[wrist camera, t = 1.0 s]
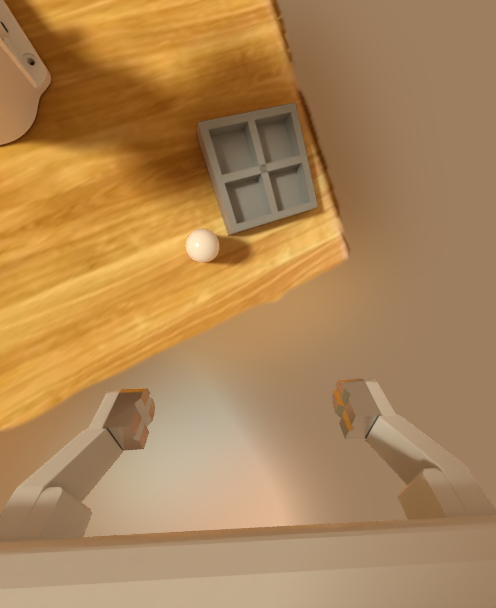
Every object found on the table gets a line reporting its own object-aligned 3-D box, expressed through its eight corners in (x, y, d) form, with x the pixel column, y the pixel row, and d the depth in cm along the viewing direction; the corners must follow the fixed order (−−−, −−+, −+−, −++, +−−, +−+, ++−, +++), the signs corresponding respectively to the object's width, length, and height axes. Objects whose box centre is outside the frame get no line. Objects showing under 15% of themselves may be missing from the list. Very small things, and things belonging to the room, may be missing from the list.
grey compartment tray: (196, 133, 39) (197, 121, 35) (286, 114, 42) (295, 102, 38) (228, 235, 43) (232, 233, 39) (308, 211, 46) (318, 207, 43)
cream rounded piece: (181, 238, 41) (180, 232, 32) (208, 230, 42) (215, 222, 33) (191, 266, 42) (193, 267, 33) (217, 257, 43) (226, 256, 34)
